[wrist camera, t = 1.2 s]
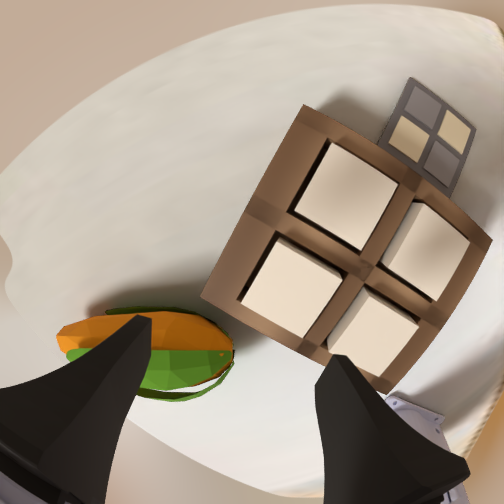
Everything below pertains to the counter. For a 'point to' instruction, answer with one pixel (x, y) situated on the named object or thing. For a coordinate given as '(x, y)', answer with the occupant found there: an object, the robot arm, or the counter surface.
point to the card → (428, 137)
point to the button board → (339, 245)
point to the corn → (162, 348)
